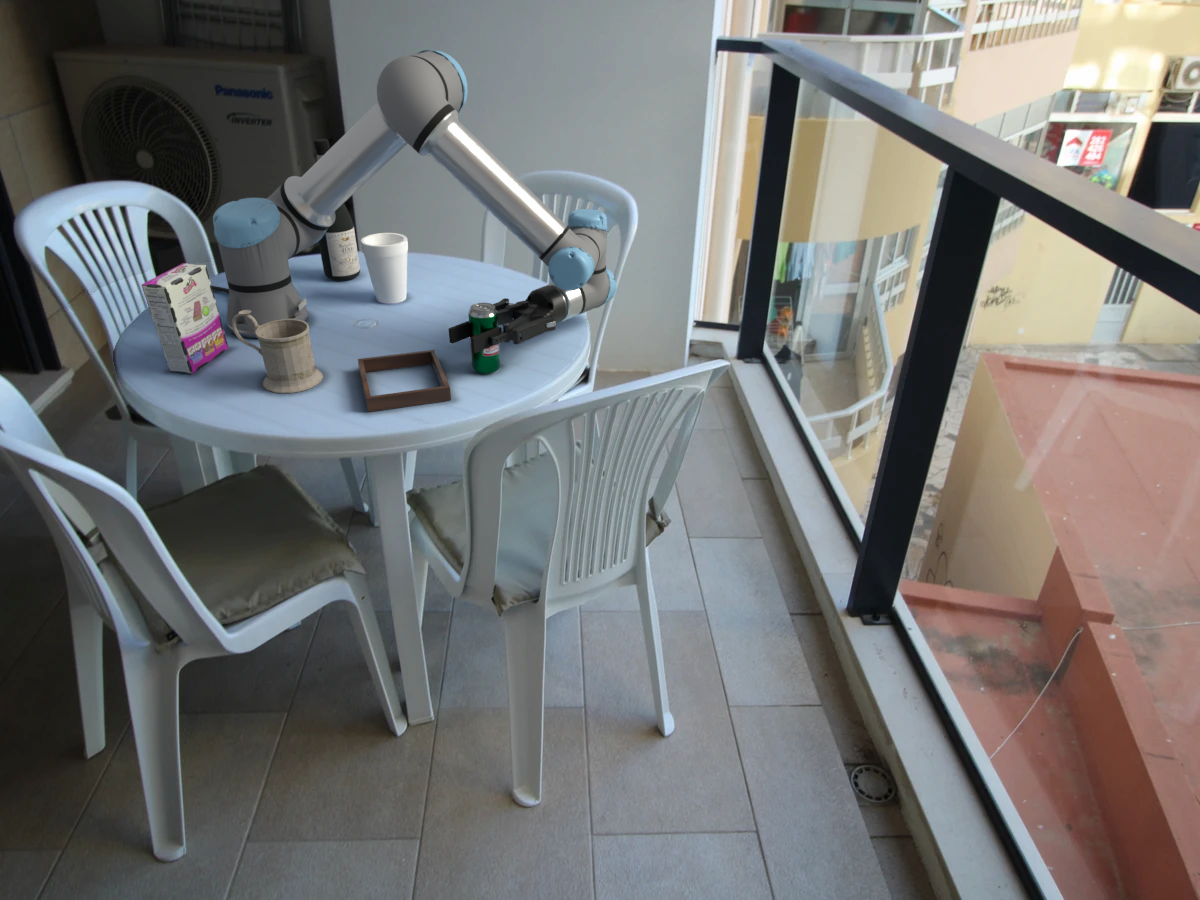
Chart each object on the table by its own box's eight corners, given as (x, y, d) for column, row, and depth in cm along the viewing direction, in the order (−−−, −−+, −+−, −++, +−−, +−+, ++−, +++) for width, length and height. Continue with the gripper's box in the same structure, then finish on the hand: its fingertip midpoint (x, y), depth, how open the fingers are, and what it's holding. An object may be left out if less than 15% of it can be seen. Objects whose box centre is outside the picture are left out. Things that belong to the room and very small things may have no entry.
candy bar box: (206, 346, 146) (182, 261, 138) (230, 349, 146) (208, 264, 137) (166, 372, 137) (139, 283, 128) (192, 375, 136) (166, 285, 128)
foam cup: (422, 296, 170) (416, 238, 163) (392, 309, 163) (384, 249, 157) (391, 287, 174) (384, 230, 167) (360, 300, 168) (351, 240, 161)
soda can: (488, 378, 138) (484, 315, 131) (466, 370, 140) (461, 308, 134) (506, 367, 142) (503, 305, 135) (484, 360, 144) (480, 299, 137)
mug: (333, 371, 139) (321, 308, 132) (303, 396, 131) (289, 330, 124) (261, 361, 141) (246, 299, 135) (227, 385, 133) (210, 320, 127)
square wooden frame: (359, 371, 139) (357, 358, 138) (435, 361, 143) (434, 349, 142) (368, 412, 127) (366, 398, 125) (451, 400, 131) (450, 387, 129)
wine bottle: (367, 276, 180) (347, 140, 164) (336, 285, 175) (313, 145, 159) (349, 268, 184) (327, 134, 168) (318, 276, 180) (293, 139, 164)
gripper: (588, 335, 146) (498, 376, 131) (521, 310, 155) (429, 345, 140) (589, 297, 142) (496, 335, 127) (519, 274, 151) (425, 306, 136)
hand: (461, 340), depth 133 cm, fingers closed on soda can, 5 cm apart
